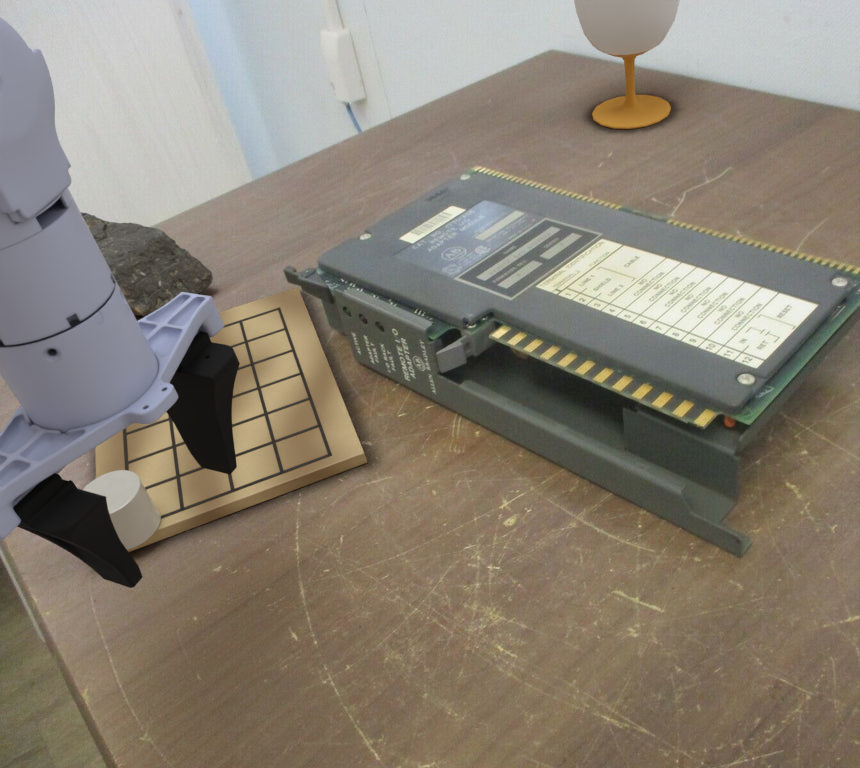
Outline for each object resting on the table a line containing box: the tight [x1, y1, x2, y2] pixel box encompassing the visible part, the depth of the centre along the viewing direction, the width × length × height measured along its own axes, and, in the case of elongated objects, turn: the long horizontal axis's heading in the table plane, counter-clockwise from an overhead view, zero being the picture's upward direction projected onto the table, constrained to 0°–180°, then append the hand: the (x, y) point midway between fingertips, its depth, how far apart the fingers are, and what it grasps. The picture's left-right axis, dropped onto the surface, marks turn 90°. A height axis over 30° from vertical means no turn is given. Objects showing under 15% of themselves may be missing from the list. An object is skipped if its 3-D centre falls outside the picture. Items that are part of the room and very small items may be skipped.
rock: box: [80, 211, 214, 317], centre depth 78 cm, size 17×7×10 cm
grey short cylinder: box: [82, 470, 161, 550], centre depth 54 cm, size 4×4×3 cm
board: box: [94, 286, 368, 553], centre depth 65 cm, size 18×24×1 cm
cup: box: [573, 0, 680, 130], centre depth 91 cm, size 12×12×17 cm
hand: (174, 519), depth 43 cm, fingers open, 7 cm apart
